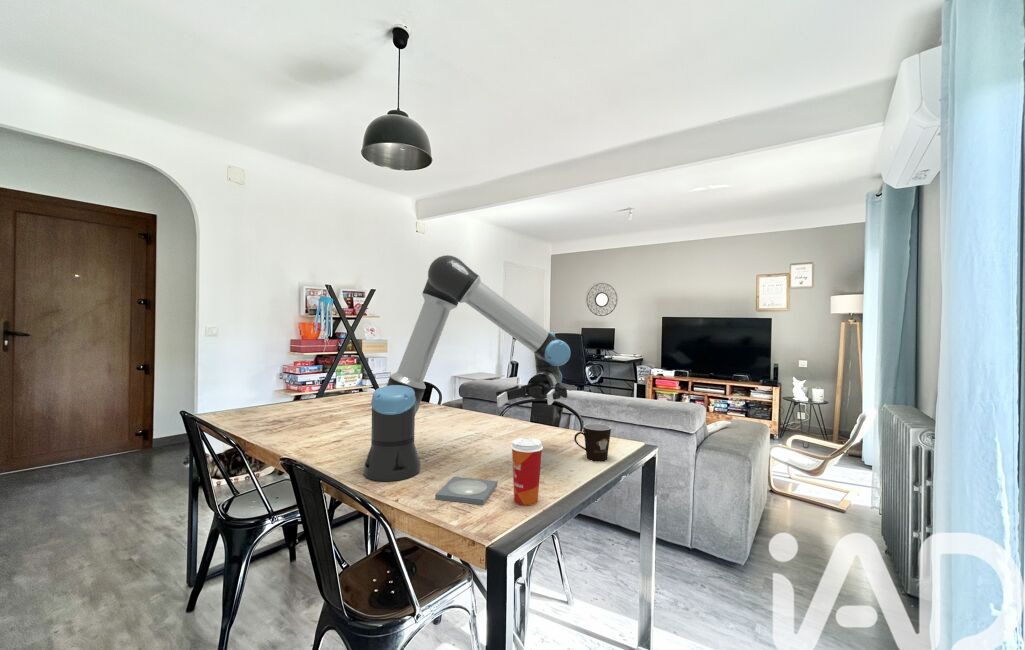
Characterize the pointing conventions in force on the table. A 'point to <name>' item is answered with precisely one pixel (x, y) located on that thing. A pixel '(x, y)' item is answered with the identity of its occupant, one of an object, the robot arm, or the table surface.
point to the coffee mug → (596, 441)
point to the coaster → (467, 490)
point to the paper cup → (526, 470)
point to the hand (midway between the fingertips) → (523, 400)
